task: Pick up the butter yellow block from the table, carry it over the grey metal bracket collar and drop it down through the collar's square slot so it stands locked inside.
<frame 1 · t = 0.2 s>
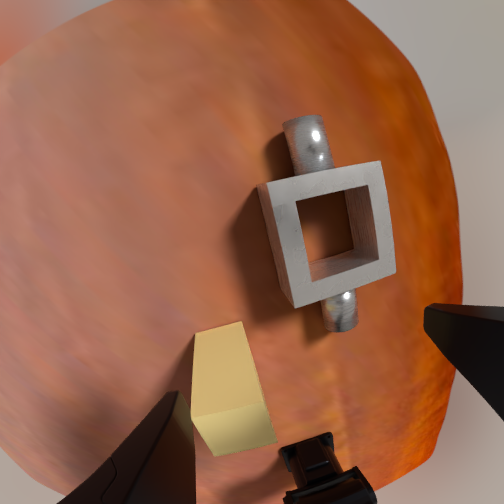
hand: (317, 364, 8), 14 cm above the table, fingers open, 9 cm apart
bracket head: (319, 225, 22), on the table
butter yellow block: (225, 346, 23), on the table
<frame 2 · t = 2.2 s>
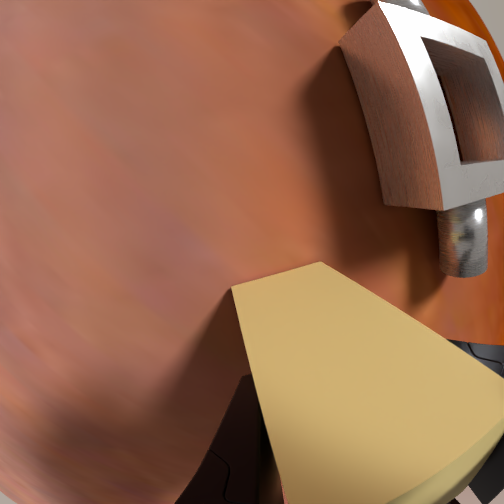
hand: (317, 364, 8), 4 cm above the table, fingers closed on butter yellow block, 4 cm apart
bracket head: (424, 115, 11), on the table
butter yellow block: (286, 315, 12), on the table, touching gripper
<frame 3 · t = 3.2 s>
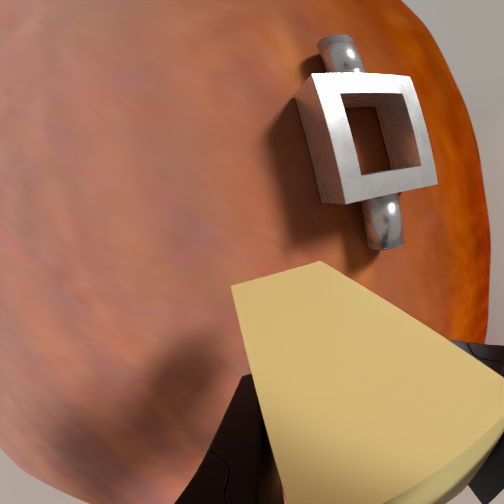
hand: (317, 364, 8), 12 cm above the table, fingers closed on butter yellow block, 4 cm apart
bracket head: (356, 140, 19), on the table
butter yellow block: (285, 314, 12), point 8 cm above the table, touching gripper
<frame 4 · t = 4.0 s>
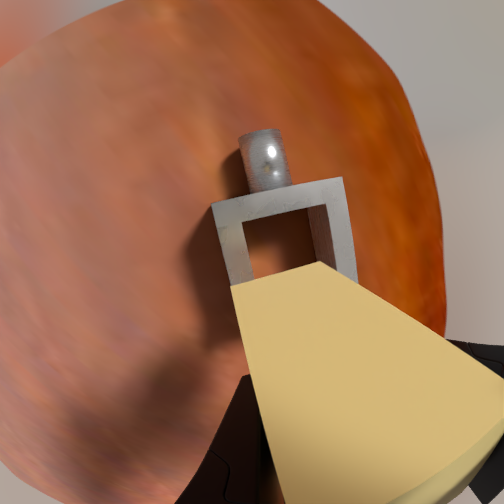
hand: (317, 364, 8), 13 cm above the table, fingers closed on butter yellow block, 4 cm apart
bracket head: (279, 245, 21), on the table
butter yellow block: (285, 315, 12), point 9 cm above the table, touching gripper
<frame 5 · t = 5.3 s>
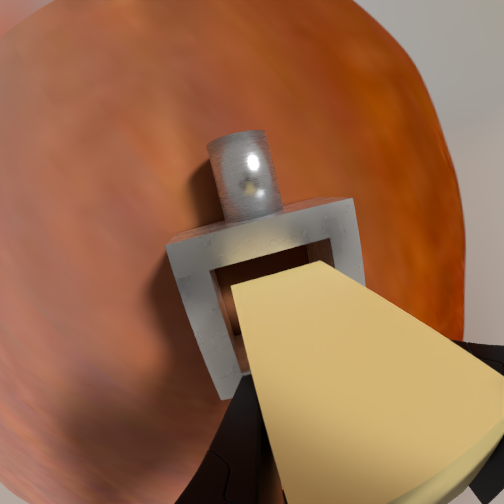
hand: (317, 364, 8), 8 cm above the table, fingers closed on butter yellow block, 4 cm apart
bracket head: (267, 284, 16), on the table
butter yellow block: (286, 314, 12), point 4 cm above the table, touching gripper
when the fingers open (5 cm above the table, at t = 6.3 s): butter yellow block drops 1 cm, resting in bracket head.
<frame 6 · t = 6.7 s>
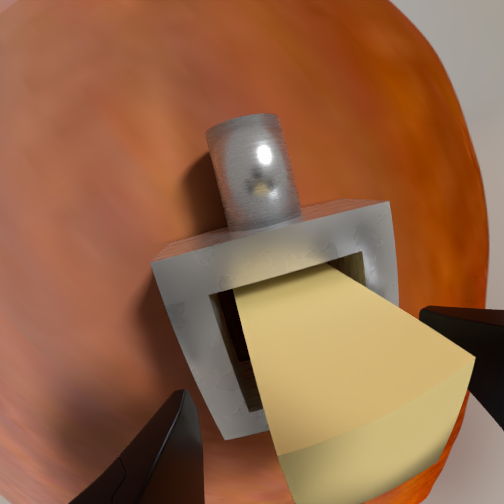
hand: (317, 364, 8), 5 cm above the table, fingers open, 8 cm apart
bracket head: (278, 303, 14), on the table
butter yellow block: (279, 302, 14), resting in bracket head
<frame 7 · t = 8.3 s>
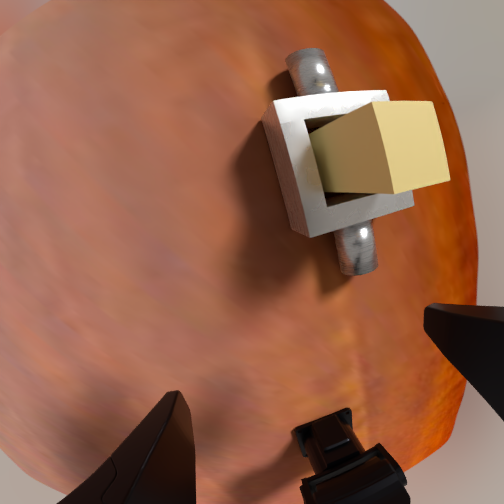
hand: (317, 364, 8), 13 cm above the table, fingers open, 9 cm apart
bracket head: (329, 160, 20), on the table
butter yellow block: (329, 160, 20), resting in bracket head
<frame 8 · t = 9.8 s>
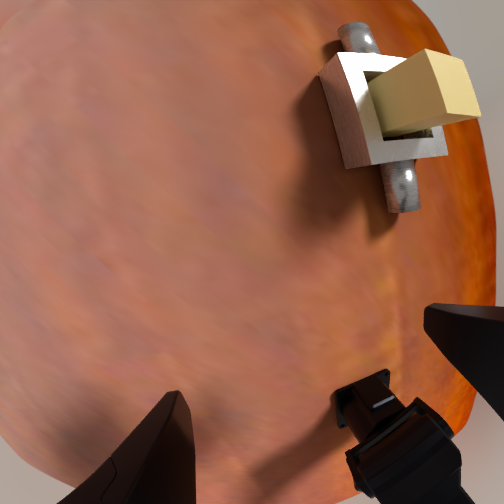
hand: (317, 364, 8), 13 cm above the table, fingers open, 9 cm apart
bracket head: (374, 115, 20), on the table
butter yellow block: (374, 115, 20), resting in bracket head
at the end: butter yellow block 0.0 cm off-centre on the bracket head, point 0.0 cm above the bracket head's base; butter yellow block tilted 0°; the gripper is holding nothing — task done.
